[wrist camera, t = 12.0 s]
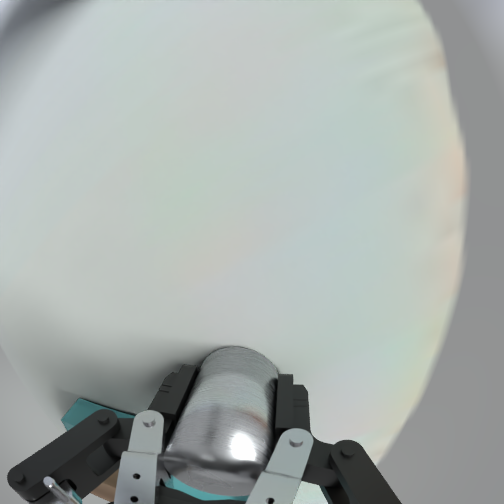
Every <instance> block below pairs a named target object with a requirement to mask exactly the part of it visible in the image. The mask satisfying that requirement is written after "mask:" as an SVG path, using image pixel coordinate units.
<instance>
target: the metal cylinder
mask: <svg viewBox="0 0 504 504" xmlns="http://www.w3.org/2000/svg"><path fill="white" fill-rule="evenodd" d="M277 384H278V373H277V370H276V368H275V366H274V365H273V364H272V362H271V361H270V360H269V359H267V358H266V357H265V356H263V355H262V354H260V353H258V352H256V351H253V350H250V349H247V348H241V347H228V348H222V349H219V350H217V351H215V352H213V353H211V354H210V355H209V356H208V357H207V358H206V359H205V360H204V362H203V364H202V366H201V368H200V371H199V373H198V375H197V378H196V380H195V382H194V385H193V387H192V389H191V392H190V394H189V396H188V399H187V401H186V403H185V406H184V408H183V410H182V413H181V415H180V417H179V420H178V422H177V424H176V427H175V429H174V431H173V434H172V436H171V439H170V441H169V443H168V446H167V448H166V450H165V453H164V466H165V468H166V469H167V471H168V472H169V473H170V474H171V475H172V476H174V477H175V478H176V479H178V480H179V481H181V482H182V483H184V484H186V485H188V486H190V487H192V488H195V489H197V490H200V491H203V492H207V493H211V494H216V495H223V496H247V495H250V494H251V492H252V490H253V488H254V486H255V484H256V482H257V480H258V478H259V476H260V474H261V473H262V471H263V470H265V469H266V467H267V465H268V463H269V461H270V459H271V457H272V454H273V452H274V449H275V438H274V432H275V418H276V402H277Z"/></svg>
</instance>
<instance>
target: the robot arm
mask: <svg viewBox="0 0 504 504" xmlns="http://www.w3.org/2000/svg"><path fill="white" fill-rule="evenodd" d="M198 373H199V367H198V366H192V365H185V364H184V365H183V366H182V368H181V370H180V372H179V373H174V372H173V373H171V374H170V375H169V376H167V377H166V378H165V380H164V382H163V383H162V386H161V387H160V389H159V391H158V392H157V394H156V396H155V398H154V399H153V401H152V403H151V405H150V407H149V408H148V410H145V411H142V412H140V413H138V414H137V415H136V416H135V418H118V417H117V415H116V414H115V412H113V411H112V410H109V409H100V410H97V411H95V412H94V413H92V414H91V415H90V416H88V417H87V418H85V419H84V420H82V421H81V422H80V423H78V424H77V425H75V426H74V427H73V428H71V429H70V430H68V431H67V432H65V433H64V434H62V435H61V436H60V437H58V438H57V439H55V440H54V441H53V442H51V443H49V444H48V445H47V446H45V447H43V448H42V449H41V450H39V451H38V452H36V453H35V454H33V455H32V456H30V457H28V458H27V459H25V460H24V461H22V462H21V463H20V464H18V465H16V466H15V467H13V468H12V469H11V470H10V471H9V473H8V475H7V480H8V483H9V485H10V486H11V487H12V488H13V489H14V490H15V491H16V492H17V493H18V494H19V495H20V497H21V498H22V499H23V500H25V501H26V502H27V503H28V504H82V499H83V498H84V497H86V496H87V495H88V494H89V493H90V492H92V491H93V490H94V489H95V488H97V487H98V486H99V485H100V484H101V483H103V482H104V481H105V480H106V479H107V478H108V477H110V476H111V475H112V474H113V473H114V472H115V471H117V470H118V469H119V473H118V479H117V485H116V492H115V499H114V501H113V502H110V503H108V504H293V501H294V499H295V496H296V493H297V491H298V488H299V485H300V482H301V481H305V482H308V483H312V484H317V485H319V486H320V488H321V490H322V492H323V494H324V496H325V498H326V500H327V502H328V504H402V503H401V502H400V501H399V499H398V498H397V496H396V495H395V493H394V492H393V491H392V489H391V488H390V486H389V485H388V483H387V482H386V481H385V479H384V478H383V476H382V475H381V473H380V472H379V471H378V469H377V468H376V466H375V465H374V463H373V462H372V460H371V459H370V457H369V456H368V455H367V453H366V452H365V450H364V449H363V447H362V446H361V445H360V444H359V443H357V442H355V441H352V440H342V441H339V442H337V443H336V444H334V445H332V444H328V443H324V442H321V441H319V440H317V439H316V438H314V436H313V435H312V434H311V431H310V417H309V402H308V391H307V390H306V388H305V387H304V386H303V385H293V374H278V384H277V402H276V418H275V432H274V438H275V449H274V452H273V454H272V457H271V459H270V461H269V463H268V465H267V467H266V469H265V470H263V471H262V473H261V474H260V476H259V478H258V480H257V482H256V484H255V486H254V488H253V490H252V492H251V494H250V496H249V498H248V500H247V501H240V500H232V499H226V500H201V499H198V498H196V497H193V496H191V495H189V494H187V493H184V492H182V491H180V490H176V489H174V484H173V476H172V475H171V474H170V473H169V472H168V471H167V469H166V468H165V466H164V453H165V450H166V448H167V446H168V443H169V441H170V439H171V436H172V434H173V431H174V429H175V427H176V424H177V422H178V420H179V417H180V415H181V413H182V410H183V408H184V406H185V403H186V401H187V399H188V396H189V394H190V392H191V389H192V387H193V385H194V382H195V380H196V378H197V375H198ZM101 445H102V446H101Z"/></svg>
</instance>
